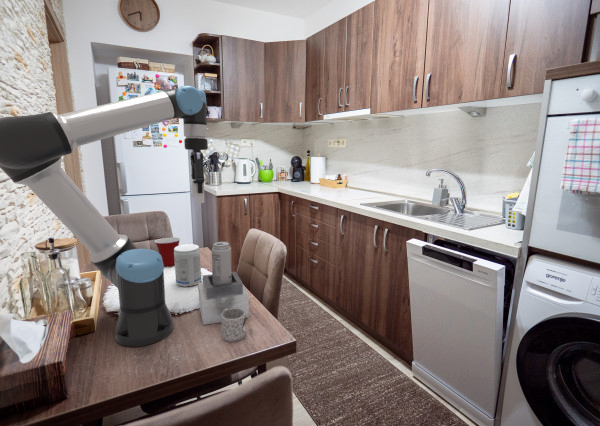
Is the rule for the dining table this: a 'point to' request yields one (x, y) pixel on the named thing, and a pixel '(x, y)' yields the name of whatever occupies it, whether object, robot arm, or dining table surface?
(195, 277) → the supplement tub
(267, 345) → the dining table surface
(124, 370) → the dining table surface
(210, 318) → the block
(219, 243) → the energy drink can
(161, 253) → the plastic cup
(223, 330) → the mug
